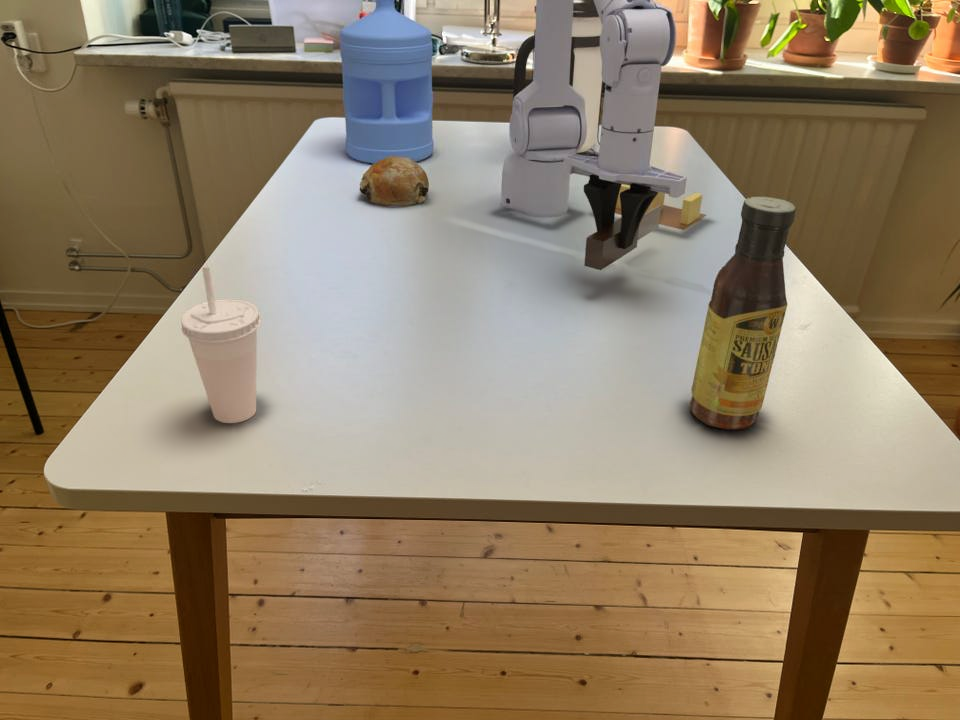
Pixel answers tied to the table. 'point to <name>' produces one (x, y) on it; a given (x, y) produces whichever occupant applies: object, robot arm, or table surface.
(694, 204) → the butter slice
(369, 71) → the water jug
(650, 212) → the knife
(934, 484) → the table surface
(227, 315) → the smoothie
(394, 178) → the bread roll
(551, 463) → the table surface
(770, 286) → the sauce bottle
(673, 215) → the cutting board
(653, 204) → the butter block
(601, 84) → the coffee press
